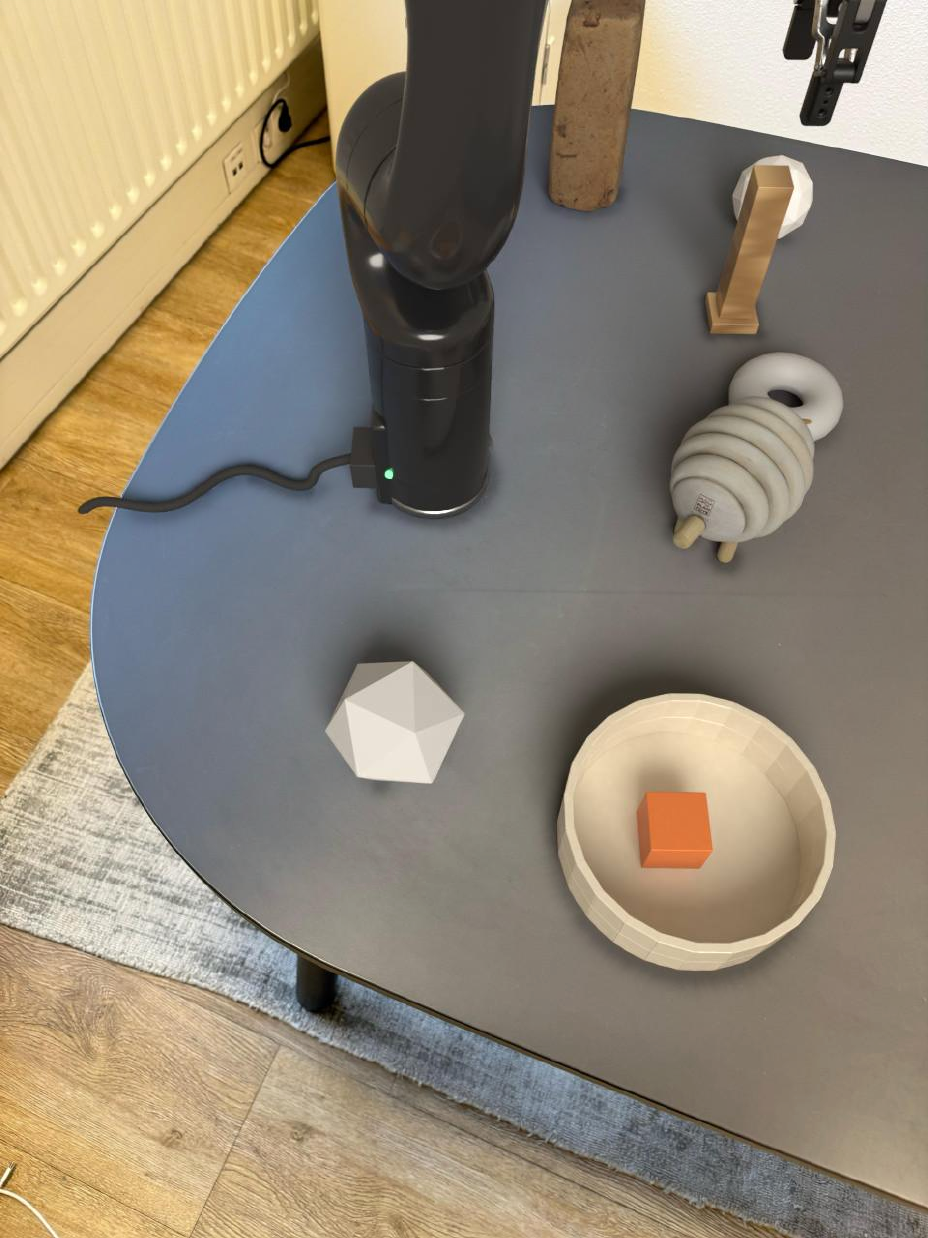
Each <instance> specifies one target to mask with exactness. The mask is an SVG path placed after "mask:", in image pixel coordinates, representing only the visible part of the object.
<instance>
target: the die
mask: <svg viewBox="0 0 928 1238" xmlns="http://www.w3.org/2000/svg"><path fill="white" fill-rule="evenodd" d="M465 715H466V713H465V711H463V710H462V709H461V708H460V707H459V705H458V704H457V703H456V702H455V701H454V700H453V699H452V697H451V696H449V694H448V692H446V691H445V690H444V689H443V688H442V687H441V686H440V684H438V682H437V681H436V680H435V678H433V677H432V676H431V674H429V673H428V671H426V670H425V669H424V668H422V667H421V666H420V665H418V664H417V663H416V662H415V661H414V660H413V661H412V660H411V661H409V660H408V661H390V662H388V661H387V662H368V663H367V662H366V663H365V662H363V663H357V665H356V667H355V668H354V671H353V673H352V674H351V676H350V679H349V681H348V683H347V685H346V687H345V689H344V691H343V693H342V695H341V697H340V699H339V701H338V704H337V705H336V708H335V709H334V712H333V713H332V715H331V718H330V720H329V722H328V724H327V726H326V729H325V730H324V733H326V735H327V737H328V738H329V739H330V741H331V742H332V744H333V745H334V747H335V748H336V749H337V750H338V752H339V754H340V755H341V756H342V758H343V759H344V761H345V762H346V763H347V765H348V766H349V767H350V768H351V770H352V772H353V773H354V774H355V776H356V778H361V779H365V780H366V779H367V780H373V781H383V782H396V783H397V782H399V783H400V782H401V783H415V784H431V785H432V784H433V782H434V781H435V778H436V777H437V774H438V772H439V770H440V768H441V766H442V763H443V761H444V759H445V757H446V755H447V753H448V751H449V748H450V747H451V744H452V742H453V740H454V738H455V736H456V733H457V732H458V729H459V727H460V726H461V723H462V721H463V718H464V717H465Z"/></svg>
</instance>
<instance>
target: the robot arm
mask: <svg viewBox="0 0 928 1238" xmlns="http://www.w3.org/2000/svg"><path fill="white" fill-rule="evenodd" d="M549 1H550V0H403V2H404V11H405V25H406V65H405V66H406V67H405V70H403V71H398V72H394V73H391V74H387V75H386V76H384V77H381V78H379V79H378V80H376V81H374V82H373V83H372V84H371V85H369V86H368V87H367V88H365V90H363V92H362V93H360V94H359V95H358V97H357V98H356V99H355V101H354V102H353V103H352V105H351V107H350V108H349V110H348V112H347V113H346V115H345V117H344V120H343V121H342V124H341V127H340V130H339V133H338V137H337V142H336V149H335V161H334V162H335V165H334V166H335V167H334V168H335V181H336V182H335V183H336V190H337V197H338V205H339V212H340V213H339V214H340V219H341V226H342V232H343V238H344V244H345V251H346V257H347V258H346V259H347V264H348V270H349V274H350V279H351V283H352V286H353V289H354V292H355V295H356V298H357V300H358V303H359V307H360V310H361V314H362V321H363V329H364V336H365V338H364V339H365V344H366V345H365V346H366V357H367V365H368V370H369V371H368V373H369V384H370V391H371V400H372V402H371V403H372V404H371V415H370V426H353V427H352V439H351V447H350V448H351V449H350V452H349V453H345V454H342V455H337V456H334V457H333V456H332V457H330V458H327V459H324V460H322V461H320V462H318V463H317V464H316V465H314V466H313V467H312V468H311V469H310V471H309V473H308V477H307V478H306V479H303V480H294V479H291V478H287V477H285V476H282V475H280V474H278V473H276V472H274V471H271V470H269V469H267V468H264V467H261V466H256V465H252V464H251V465H250V464H241V465H240V464H239V465H233V466H230V467H227V468H224V469H222V470H220V471H218V472H215V473H214V474H212V475H211V476H209V477H207V479H205V480H204V481H202V483H200V484H199V485H197V486H195V488H193V489H192V490H190V491H188V493H186V494H184V495H181V496H180V497H177V498H174V499H171V500H167V501H158V502H152V501H151V502H150V501H140V500H134V499H130V498H129V499H128V498H123V497H116V496H107V495H106V496H104V495H103V496H96V497H92V498H90V499H88V500H86V501H85V502H83V503H82V504H81V505H80V506H79V507H78V509H77V513H78V514H80V515H85V514H89V513H90V512H92V511H93V510H95V509H98V508H103V507H105V508H106V507H107V508H109V507H110V508H118V509H123V510H129V511H135V512H140V513H141V512H142V513H152V514H153V513H157V514H158V513H165V512H166V513H168V512H173V511H176V510H179V509H182V508H184V507H186V506H188V505H190V504H192V503H194V502H195V501H197V500H198V499H200V498H201V497H202V496H204V495H205V494H206V493H208V492H209V491H210V490H211V489H213V488H214V487H216V486H217V485H219V484H221V483H222V482H224V481H226V480H229V479H232V478H234V477H239V476H254V477H258V478H261V479H264V480H266V481H269V482H270V483H272V484H274V485H277V486H279V487H281V488H284V489H288V490H291V491H296V492H300V491H301V492H303V491H307V490H311V489H313V488H314V487H315V486H316V485H317V483H318V482H319V478H320V475H321V474H323V473H324V472H326V471H329V470H331V469H334V468H339V467H342V466H347V465H349V470H350V475H351V484H352V488H353V489H377V495H378V502H379V503H380V504H381V505H382V504H383V505H384V504H386V505H393V507H395V508H396V509H398V510H399V511H401V512H403V513H404V514H407V515H409V516H412V517H416V518H419V519H423V520H443V519H449V518H452V517H455V516H458V515H461V514H462V513H465V512H467V511H469V510H470V509H471V508H473V507H474V506H475V505H476V504H477V503H478V502H479V501H480V500H481V499H482V498H483V496H484V494H485V493H486V491H487V487H488V486H489V482H490V456H489V455H490V453H489V452H490V449H491V451H492V452H494V439H493V437H492V435H491V433H490V431H491V409H492V407H491V405H492V379H493V353H494V328H495V326H494V325H495V304H496V302H495V292H494V287H493V283H492V280H491V277H490V274H489V271H488V267H490V265H491V264H493V262H494V261H495V260H496V258H497V257H498V255H499V254H500V253H501V251H502V250H503V248H504V247H505V245H506V243H507V241H508V239H509V237H510V235H511V233H512V230H513V228H514V226H515V223H516V220H517V216H518V213H519V208H520V205H521V200H522V195H523V187H524V181H525V180H524V179H525V172H526V171H525V170H526V163H527V155H528V153H527V152H528V145H529V144H528V143H529V134H530V126H531V118H532V117H531V116H532V107H533V100H534V99H533V97H534V90H535V82H536V75H537V74H536V73H537V66H538V65H537V64H538V60H539V52H540V46H541V41H542V37H543V36H542V35H543V30H544V27H545V26H544V25H545V22H546V21H545V20H546V19H545V18H546V16H547V12H548V11H547V10H548V6H549ZM887 2H888V0H792V3H793V5H794V6H793V9H792V13H791V18H790V21H789V25H788V28H787V31H786V35H785V37H784V38H785V39H784V43H783V45H782V49H781V51H782V56H783V58H784V59H785V60H787V61H806V60H809V59H810V58H811V57H812V55H813V53H814V49H815V46H816V52H815V58H814V59H815V60H814V65H813V71H812V73H811V77H810V79H809V84H808V86H807V89H806V92H805V95H804V99H803V102H802V105H801V108H800V111H799V117H798V118H799V121H800V124H801V126H803V127H826V126H827V125H829V124H830V122H832V119H833V116H834V112H835V109H836V107H837V105H838V102H839V98H840V95H841V93H842V90H843V87H844V84H860V82H861V80H862V77H863V75H864V70H865V69H866V66H867V62H868V60H869V56H870V54H871V50H872V47H873V45H874V41H875V38H876V36H877V32H878V30H879V26H880V23H881V20H882V17H883V14H884V12H885V8H886V6H887ZM827 18H830V19H836V23H830V22H829V21H828V19H827ZM816 43H817V44H816ZM842 51H844V52H843V57H840V55H841V52H842Z"/></svg>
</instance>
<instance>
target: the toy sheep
mask: <svg viewBox="0 0 928 1238" xmlns="http://www.w3.org/2000/svg"><path fill="white" fill-rule="evenodd" d="M789 407H790V406H787V405H786V404H784V403H782V402H780V401H778V400H775V399H773V398H770V399H769V398H765V397H757V396H752V397H744V398H741V399H738V400H736V401H734V402H732V403H731V404H730V405H729V404H728V405H725V406H721V407H719V408H717V409H715V410H713V411H712V412H711V413H710V414H709V415H707V417H705V418H704V419H702V420H700V421H698V422H696V423H695V424H694V425H693V426H691V427H690V428H689V430H687V432H686V433H685V434H684V436H683V439H682V441H681V443H680V445H679V447H678V448H677V450H676V451H675V453H674V455H673V458H672V462H671V466H670V480H669V490H670V496H671V500H672V505H673V509H674V511H675V513H676V515H677V519H676V523H675V526H674V529H673V532H674V533H673V535H672V542H673V544H674V545H675V546H676V547H677V548H679V549H682V550H687V549H689V548H690V547H691V546H692V545H693V544H694V542H695V541H696V540H697V539H698V538H699V536H700V537H701V538H703V539H705V540H708V541H713V542H720V545H719V548H718V550H717V553H716V557H717V558H718V561H720V562H722V563H729V562H731V561H732V559H733V558H734V555H735V553H736V550H737V547H738V545H739V543H744V542H747V541H751V540H752V539H757V538H763V537H766V536H767V535H770V534H772V533H775V531H776V530H778V529H779V528H780V527H781V526H782V524H783V523H784V522H786V521H788V520H789V519H790V518H792V517H793V516H795V514H796V513H797V512H798V511H799V509H800V508H801V506H802V504H803V502H804V499H805V495H806V494H807V492H808V491H809V489H810V488H811V486H812V483H813V480H814V474H815V473H814V471H815V467H814V462H813V461H814V457H815V452H816V451H815V441H814V440H813V437H812V434H811V432H810V430H809V428H808V426H807V424H810V423H812V421H811V420H810V419H802V418H801V417H800V416H799V415H798V414H797V413H796V412H794V411H793V410H792V409H791V408H792V407H790V408H789Z"/></svg>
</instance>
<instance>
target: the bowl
mask: <svg viewBox="0 0 928 1238" xmlns="http://www.w3.org/2000/svg"><path fill="white" fill-rule="evenodd" d="M646 792H701V793H706V798H707V806H708V815H709V823H710V831H711V840H712V848H713V851H712V853H711V854H710V855H709V857H708V858H707V859H706V861H705V862H704V863H703V865H702V866H701V867H700V869H681V868H641V860H640V848H639V835H638V823H637V810H638V808H639V806H640V804H641V802H642V800H643V797H644V795H645V793H646ZM556 835H557V838H556V839H557V840H556V841H557V854H558V859H559V863H560V865H561V869H562V872H563V875H564V879H565V881H566V884H567V887H568V889H569V891H570V892H571V894H572V895H573V897H574V899H575V902H576V903H577V904H578V905H579V908H580V909H581V910H582V912H583V914H584V915H585V917H586V918H587V919H588V920H589V921H590V922H591V923H593V925H594V926H596V928H597V929H598V930H599V931H600V932H601V933H602V934H603V935H604V936H605V937H607V938H608V939H609V941H611V942H612V943H613V944H615V945H617V946H619V947H620V948H622V949H623V950H625V951H626V952H628V953H630V954H631V955H634V956H635V957H637V958H638V959H641V960H643V961H645V962H649V963H651V964H655V965H658V966H660V967H665V968H670V969H673V970H675V971H692V972H693V971H694V972H695V971H696V972H698V971H699V972H700V971H701V972H702V971H704V972H705V971H708V972H709V971H710V972H712V971H717V970H721V969H724V968H729V967H730V968H731V967H732V966H735V965H739V964H743V963H746V962H748V961H750V960H751V959H753V958H754V957H756V956H758V955H759V954H761V953H762V952H764V951H766V950H767V949H769V948H770V947H773V946H774V945H775V944H776V943H777V942H779V941H780V940H781V939H783V938H784V937H785V936H786V935H787V934H789V933H790V932H791V931H793V930H794V929H795V928H796V927H797V926H799V925H800V924H801V923H802V921H804V919H805V918H806V917H807V916H808V914H809V913H810V912H811V910H813V908H814V907H815V906H816V905H817V904H818V903H819V901H820V900H821V899H822V896H823V893H824V891H825V889H826V886H827V884H828V881H829V878H830V877H831V874H832V871H833V869H834V868H833V867H834V861H835V860H834V858H835V849H836V839H837V831H836V825H835V820H834V814H833V809H832V804H831V800H830V797H829V794H828V793H827V790H826V788H825V785H824V783H823V782H822V780H821V778H820V775H819V773H818V771H817V768H816V767H815V765H814V764H813V763H812V762H811V761H810V759H809V758H808V757H807V755H806V754H805V753H804V752H803V750H802V749H801V748H800V746H799V745H798V744H797V743H796V741H794V739H793V738H792V737H790V736H789V735H788V734H787V733H786V732H785V731H783V730H782V729H781V728H780V727H778V726H777V725H776V724H774V722H772V721H771V720H769V719H768V718H767V717H765V716H764V715H761V714H760V713H757V712H755V711H754V710H752V709H750V708H748V707H745V706H744V705H742V704H740V703H737V702H734V701H733V700H729V699H724V698H720V697H716V696H712V695H708V694H704V693H675V692H670V693H664V694H660V695H655V696H651V697H647V698H643V699H638V700H636V701H633V702H632V703H630V704H628V705H625V706H624V707H622V708H621V709H618V710H617V711H615V712H613V713H611V714H610V715H608V716H607V717H606V718H605V719H604V720H603V721H601V723H600V724H599V725H597V726H596V728H595V729H593V730H592V732H590V733H589V735H587V737H585V740H584V741H583V742H582V744H581V746H580V748H579V750H578V752H577V754H576V755H575V757H574V759H573V760H572V762H571V764H570V768H569V771H568V776H567V779H566V783H565V787H564V791H563V795H562V799H561V803H560V807H559V812H558V816H557V820H556Z"/></svg>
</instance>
